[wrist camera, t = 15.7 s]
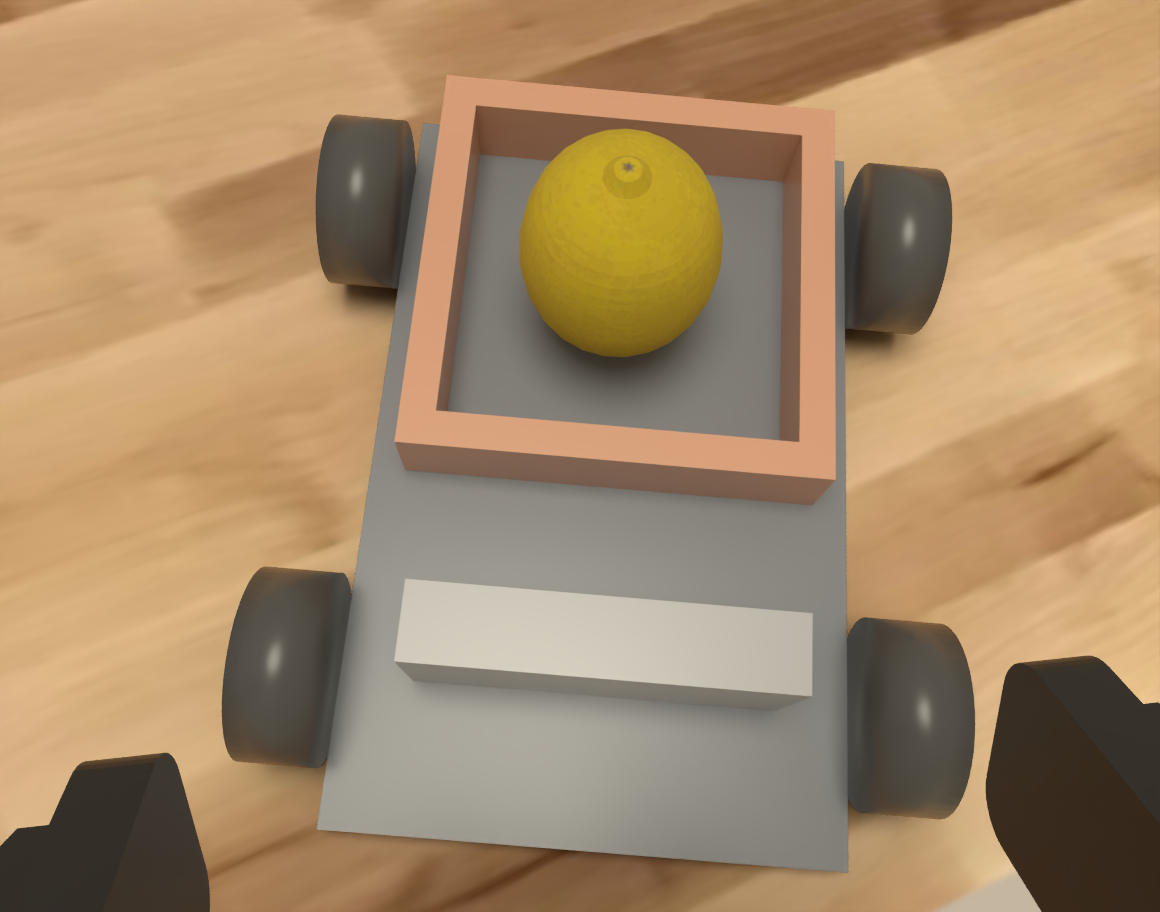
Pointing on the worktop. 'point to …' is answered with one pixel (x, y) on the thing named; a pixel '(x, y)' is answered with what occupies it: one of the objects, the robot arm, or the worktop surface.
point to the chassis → (609, 513)
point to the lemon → (621, 243)
